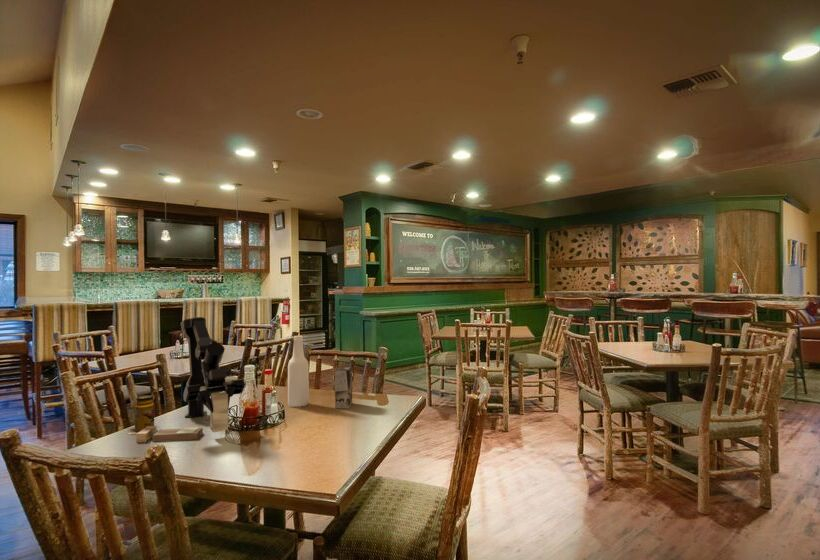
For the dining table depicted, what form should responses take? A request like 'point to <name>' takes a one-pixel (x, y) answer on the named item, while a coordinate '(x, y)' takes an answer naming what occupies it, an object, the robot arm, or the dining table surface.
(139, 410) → the condiment
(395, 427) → the dining table surface
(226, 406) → the birch post
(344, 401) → the coffee box
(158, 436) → the flat wooden block
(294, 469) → the dining table surface
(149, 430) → the lintel
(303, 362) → the alcohol
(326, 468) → the dining table surface
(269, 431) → the dining table surface
